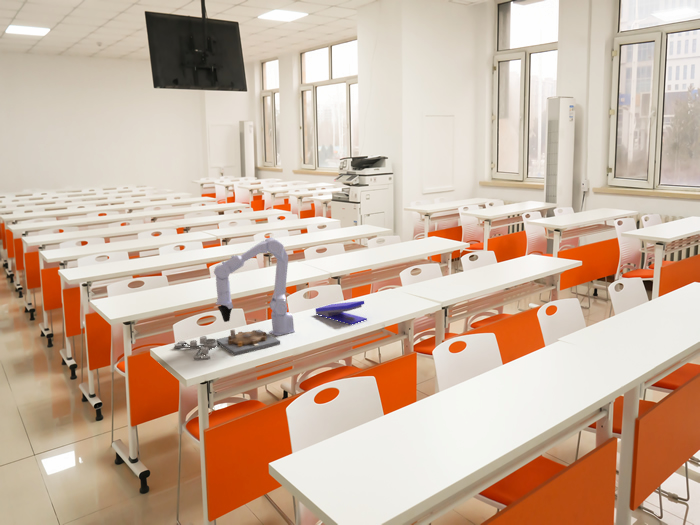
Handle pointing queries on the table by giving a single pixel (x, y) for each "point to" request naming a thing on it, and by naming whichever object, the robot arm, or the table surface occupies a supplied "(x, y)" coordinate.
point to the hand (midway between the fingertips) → (226, 321)
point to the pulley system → (205, 350)
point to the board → (248, 348)
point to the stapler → (341, 312)
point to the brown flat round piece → (246, 337)
